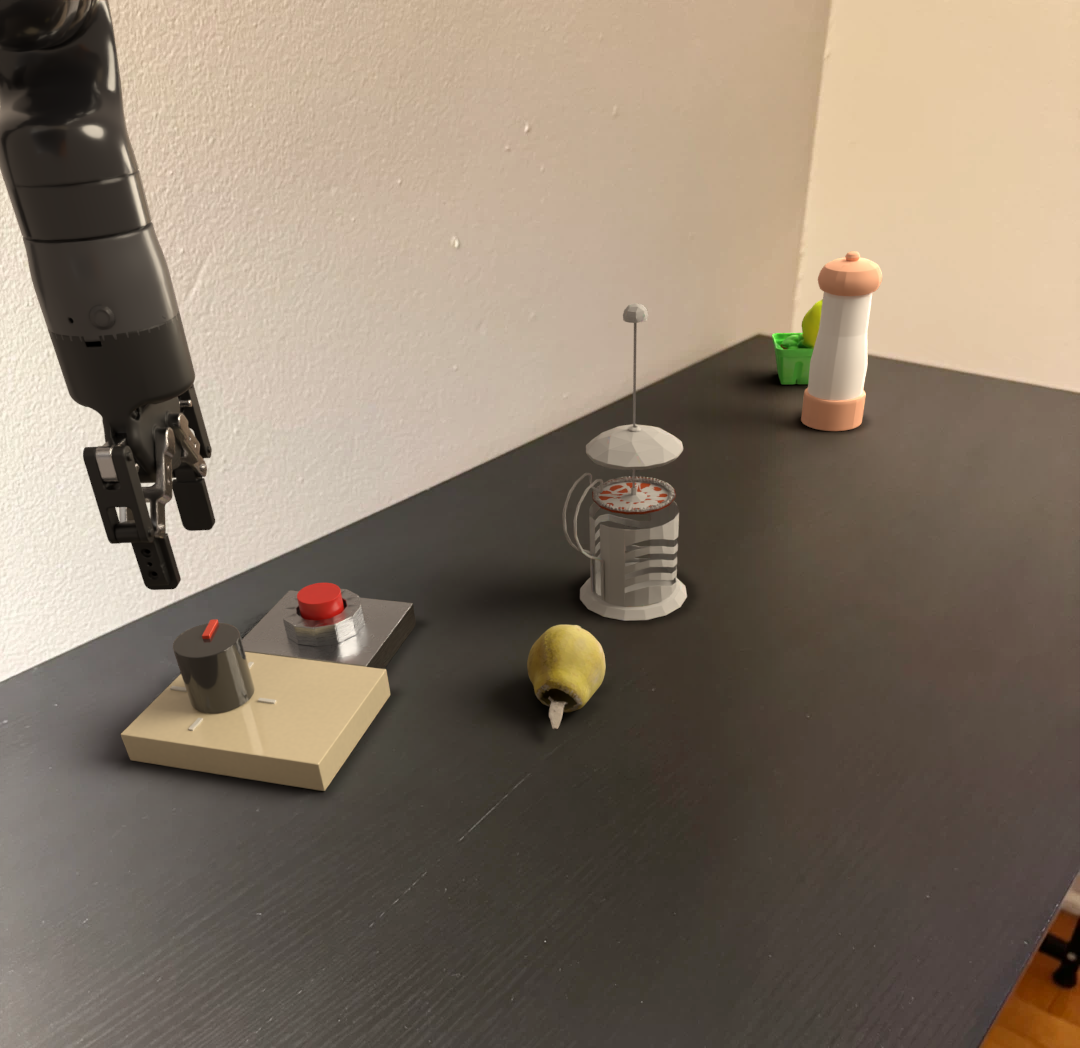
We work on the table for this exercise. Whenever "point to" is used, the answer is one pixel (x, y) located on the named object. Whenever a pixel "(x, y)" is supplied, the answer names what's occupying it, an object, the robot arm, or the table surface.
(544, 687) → the fruit
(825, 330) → the salt shaker
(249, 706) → the panel
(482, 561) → the table surface
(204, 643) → the knob
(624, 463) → the french press
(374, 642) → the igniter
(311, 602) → the button
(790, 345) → the fruit basket
